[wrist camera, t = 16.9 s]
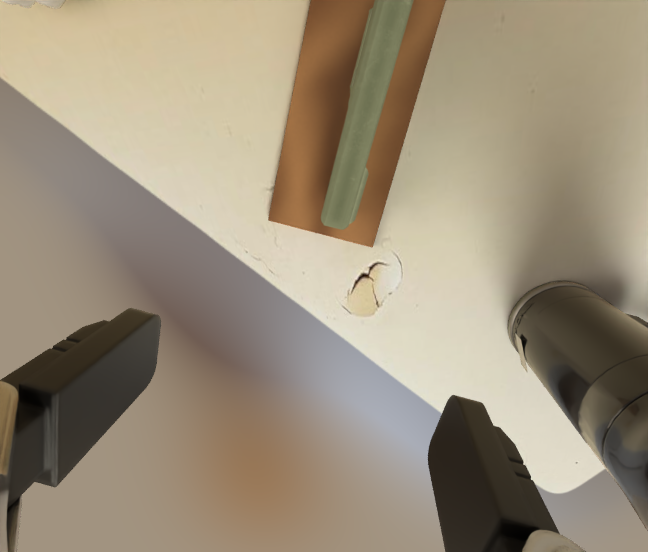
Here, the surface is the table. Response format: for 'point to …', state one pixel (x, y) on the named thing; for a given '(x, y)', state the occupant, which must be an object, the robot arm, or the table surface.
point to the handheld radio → (364, 109)
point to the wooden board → (331, 109)
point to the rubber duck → (28, 1)
